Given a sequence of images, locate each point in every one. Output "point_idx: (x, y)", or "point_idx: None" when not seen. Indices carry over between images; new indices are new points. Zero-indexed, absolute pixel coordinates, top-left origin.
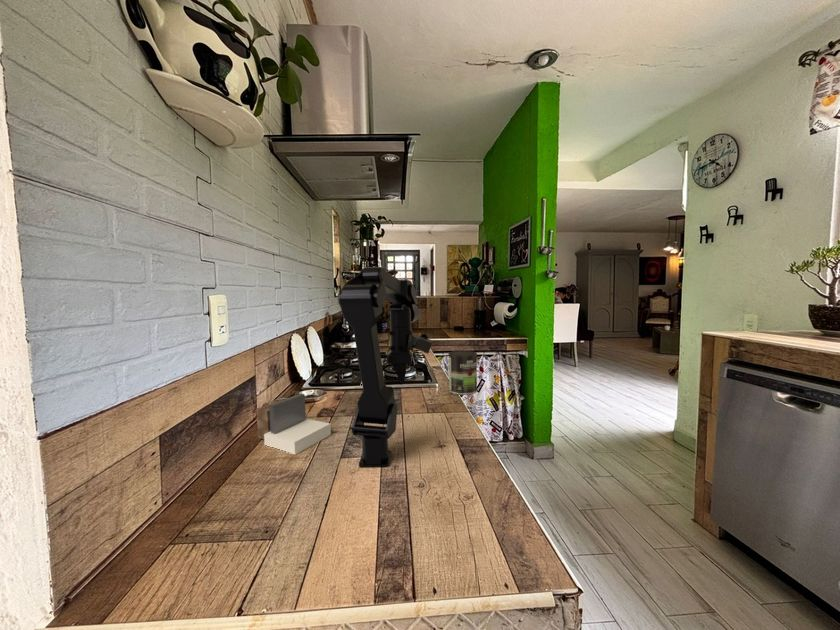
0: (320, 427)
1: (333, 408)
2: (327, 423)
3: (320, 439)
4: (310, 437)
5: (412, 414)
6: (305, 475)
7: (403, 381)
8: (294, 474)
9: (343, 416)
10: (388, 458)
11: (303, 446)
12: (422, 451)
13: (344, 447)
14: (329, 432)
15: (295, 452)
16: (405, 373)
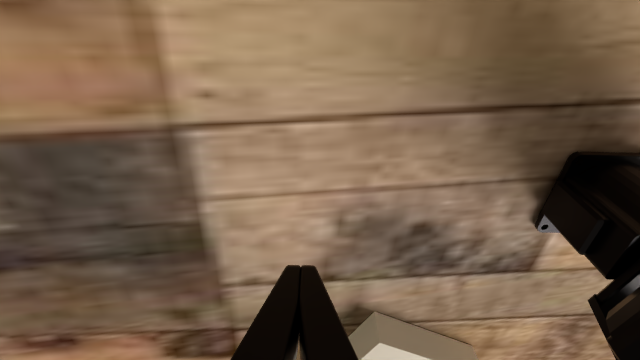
0: (404, 355)
1: (164, 337)
2: (376, 348)
3: (408, 325)
4: (442, 354)
5: (177, 75)
6: (584, 313)
7: (318, 275)
8: (568, 328)
9: (231, 307)
10: (633, 160)
11: (455, 347)
12: (621, 27)
13: (469, 272)
14: (380, 320)
15: (472, 350)
16: (348, 343)
